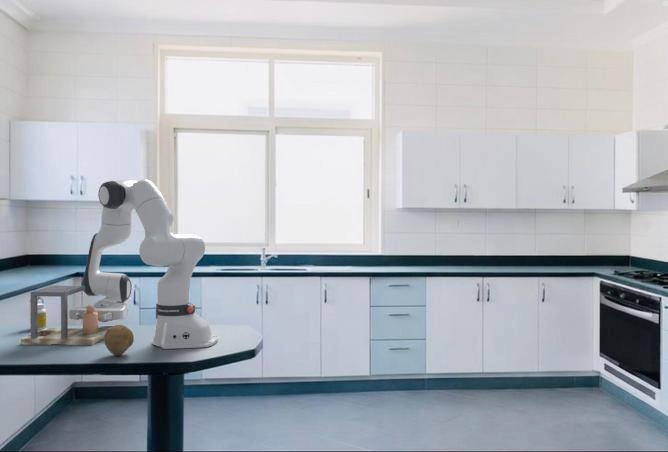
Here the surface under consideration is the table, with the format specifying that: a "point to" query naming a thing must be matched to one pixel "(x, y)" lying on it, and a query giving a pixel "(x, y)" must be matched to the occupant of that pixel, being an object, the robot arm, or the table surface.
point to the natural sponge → (118, 339)
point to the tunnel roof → (63, 293)
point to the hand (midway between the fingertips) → (89, 317)
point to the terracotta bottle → (90, 321)
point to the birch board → (74, 338)
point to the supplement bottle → (41, 316)
